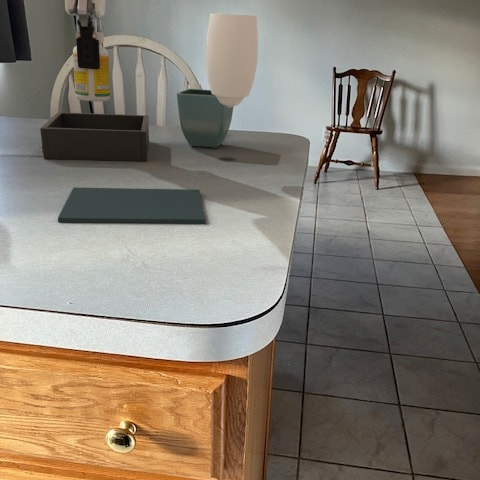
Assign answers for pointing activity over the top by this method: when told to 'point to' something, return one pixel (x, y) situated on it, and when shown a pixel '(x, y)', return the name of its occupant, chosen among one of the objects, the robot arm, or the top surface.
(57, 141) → the black box
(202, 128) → the flower pot
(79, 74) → the supplement bottle
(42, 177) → the top surface
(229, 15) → the beige tapered shape
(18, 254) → the top surface
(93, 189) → the mat
